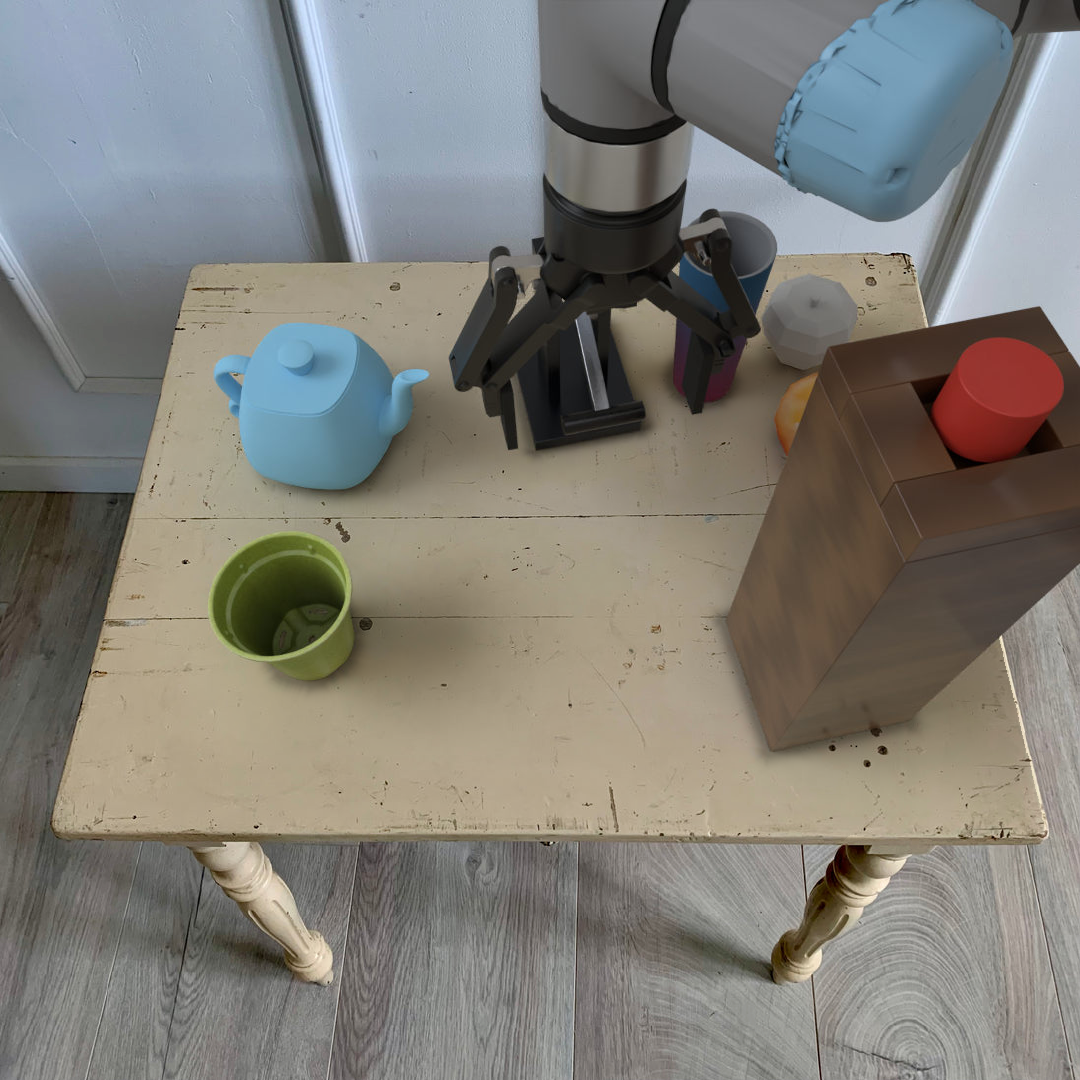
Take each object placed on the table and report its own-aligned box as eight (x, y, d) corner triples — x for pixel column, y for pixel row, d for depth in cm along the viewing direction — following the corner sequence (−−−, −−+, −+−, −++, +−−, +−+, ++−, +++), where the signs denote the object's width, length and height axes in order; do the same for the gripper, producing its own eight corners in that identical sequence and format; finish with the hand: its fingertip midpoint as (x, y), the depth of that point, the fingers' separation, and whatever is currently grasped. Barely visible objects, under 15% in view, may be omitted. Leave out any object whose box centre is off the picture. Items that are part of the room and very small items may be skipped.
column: (909, 720, 61) (1161, 489, 35) (770, 752, 60) (921, 539, 34) (854, 593, 66) (1040, 305, 40) (725, 620, 65) (827, 345, 39)
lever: (642, 423, 66) (648, 416, 63) (563, 438, 65) (566, 432, 63) (605, 253, 66) (609, 240, 64) (527, 267, 66) (528, 254, 64)
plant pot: (369, 705, 63) (342, 660, 55) (239, 704, 63) (193, 660, 56) (383, 586, 67) (359, 530, 60) (261, 586, 68) (222, 530, 60)
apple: (749, 316, 79) (762, 261, 74) (838, 317, 79) (859, 261, 73) (756, 387, 75) (771, 334, 70) (850, 388, 75) (872, 335, 69)
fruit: (911, 467, 69) (887, 422, 63) (814, 507, 73) (782, 469, 66) (875, 387, 73) (849, 338, 67) (785, 429, 76) (752, 385, 70)
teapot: (406, 438, 61) (162, 406, 63) (428, 517, 70) (215, 487, 72) (448, 303, 67) (223, 278, 69) (463, 392, 76) (265, 368, 78)
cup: (758, 386, 76) (797, 251, 62) (696, 424, 74) (722, 293, 61) (707, 337, 78) (734, 197, 65) (646, 372, 77) (661, 236, 64)
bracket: (641, 430, 74) (655, 303, 61) (535, 451, 73) (527, 327, 60) (605, 324, 79) (612, 187, 66) (507, 342, 79) (494, 208, 66)
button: (1045, 453, 37) (1084, 405, 34) (954, 471, 36) (986, 425, 34) (1001, 379, 39) (1034, 328, 36) (914, 396, 38) (941, 346, 36)
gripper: (819, 87, 48) (749, 347, 67) (366, 161, 46) (424, 408, 65) (872, 177, 45) (783, 425, 63) (384, 263, 43) (440, 492, 62)
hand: (601, 417), depth 64 cm, fingers open, 13 cm apart
